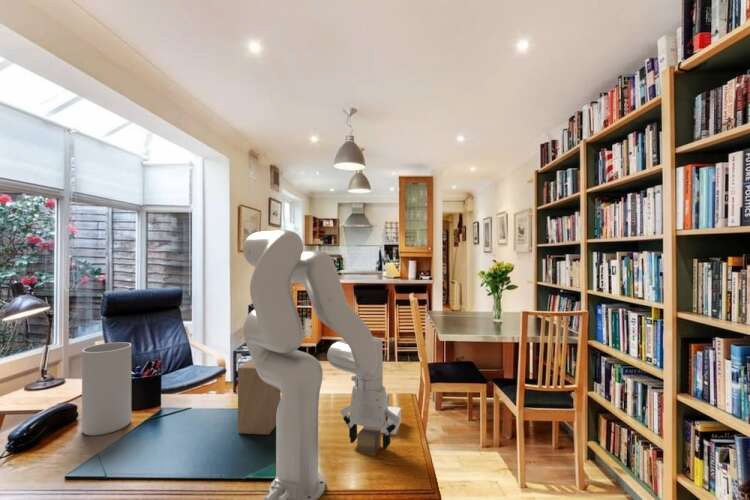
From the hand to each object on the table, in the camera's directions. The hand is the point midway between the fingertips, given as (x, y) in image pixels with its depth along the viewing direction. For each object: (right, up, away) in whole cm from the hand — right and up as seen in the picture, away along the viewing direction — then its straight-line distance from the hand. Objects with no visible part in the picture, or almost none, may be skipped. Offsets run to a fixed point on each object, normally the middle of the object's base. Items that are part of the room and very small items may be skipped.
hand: (369, 443), depth 101 cm
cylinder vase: (-83, -2, +13) cm, 84 cm away
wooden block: (-35, -2, +13) cm, 37 cm away
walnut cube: (0, -2, 0) cm, 2 cm away
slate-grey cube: (+3, -2, +25) cm, 26 cm away
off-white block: (+5, -2, +13) cm, 14 cm away
